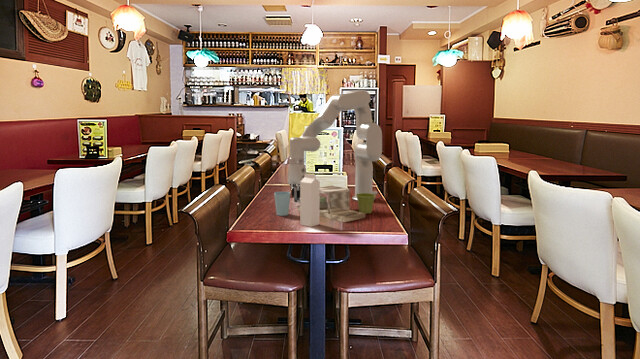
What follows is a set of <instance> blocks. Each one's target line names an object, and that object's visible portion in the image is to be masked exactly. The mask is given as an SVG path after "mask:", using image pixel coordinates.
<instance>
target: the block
mask: <svg viewBox="0 0 640 359" xmlns="http://www.w3.org/2000/svg"><path fill="white" fill-rule="evenodd" d="M327 200H328V196H322V195H320V202H319V203H323V202H327Z"/></svg>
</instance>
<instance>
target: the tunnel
mask: <svg viewBox="0 0 640 359" xmlns="http://www.w3.org/2000/svg"><path fill="white" fill-rule="evenodd" d="M350 191H351V190H350V188H347V187H341V186H336V185H328V186H322V187H321V186H320V194H324V195H327V202H328V207H327V208H322V209H319V217H321V218H326V219H329V220H334V221H337V222H342V223H347V222H351V221H356V220H360V219H365V218H366V214H365V213H362V212H359V211H356V210H353V209H352V210H351V209H350V200H351V199H350V198H351V196H350V194H351V192H350ZM330 202H331V207H330ZM297 211H298V212H300V205H299V206H297Z"/></svg>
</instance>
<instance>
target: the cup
mask: <svg viewBox="0 0 640 359" xmlns="http://www.w3.org/2000/svg"><path fill="white" fill-rule="evenodd" d="M273 195H274V202H275V211H276V215H277V216H281V217H285V216H289V211H290V210H289V209H290V202H291V201H290V200H291V195H292V192H289V191H275V192H274V193H273Z"/></svg>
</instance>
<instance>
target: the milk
mask: <svg viewBox="0 0 640 359" xmlns="http://www.w3.org/2000/svg"><path fill="white" fill-rule="evenodd" d="M320 183H321V182H320V181H319V180H318V179H317V176H316V174H311V173H306V174H305V177H304V178H303V179H302V181H301V182H300V185H299V186H300V203H299V204H300V205H299V206H300V211H299V212H300V213H299V214H300V215H299V222H300V223H299V225H300V226H304V227H310V228H312V227H316V226H319V225H320V216H319V202H320V196H321V195H320V194H321V193H320V187H321V186H320V185H321V184H320Z"/></svg>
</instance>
